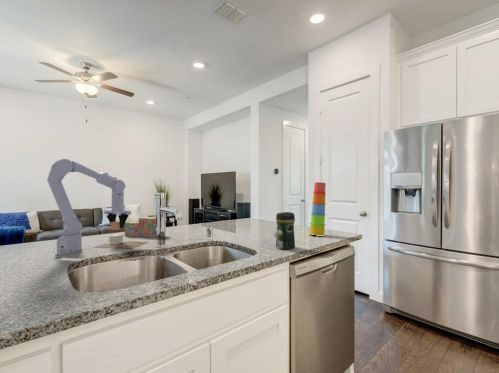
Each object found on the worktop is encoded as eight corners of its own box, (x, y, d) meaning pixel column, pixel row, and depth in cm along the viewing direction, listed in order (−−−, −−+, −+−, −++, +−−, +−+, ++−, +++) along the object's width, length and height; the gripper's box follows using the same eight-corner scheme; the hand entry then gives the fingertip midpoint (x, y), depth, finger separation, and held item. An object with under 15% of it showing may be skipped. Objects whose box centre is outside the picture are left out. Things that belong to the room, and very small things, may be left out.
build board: (132, 251, 122) (132, 248, 122) (93, 249, 126) (93, 246, 126) (149, 244, 137) (149, 241, 137) (114, 242, 140) (114, 240, 140)
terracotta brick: (118, 229, 132) (118, 222, 132) (110, 229, 133) (110, 222, 133) (124, 228, 136) (124, 221, 136) (116, 228, 137) (116, 220, 137)
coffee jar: (287, 245, 138) (287, 211, 138) (297, 248, 131) (297, 212, 131) (273, 247, 132) (273, 212, 132) (283, 250, 126) (283, 213, 126)
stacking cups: (315, 233, 172) (315, 182, 172) (328, 235, 164) (328, 182, 164) (305, 235, 166) (306, 182, 166) (319, 237, 158) (319, 182, 158)
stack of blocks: (124, 238, 154) (124, 217, 154) (129, 235, 160) (130, 216, 160) (157, 238, 152) (157, 218, 152) (162, 236, 158) (162, 217, 158)
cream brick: (117, 243, 132) (117, 236, 132) (109, 243, 133) (109, 235, 133) (122, 242, 137) (122, 234, 137) (115, 241, 137) (115, 234, 137)
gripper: (134, 202, 137) (134, 227, 137) (110, 201, 140) (110, 226, 140) (126, 203, 130) (126, 229, 130) (101, 202, 133) (101, 228, 133)
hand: (117, 227), depth 135 cm, fingers closed on terracotta brick, 5 cm apart
